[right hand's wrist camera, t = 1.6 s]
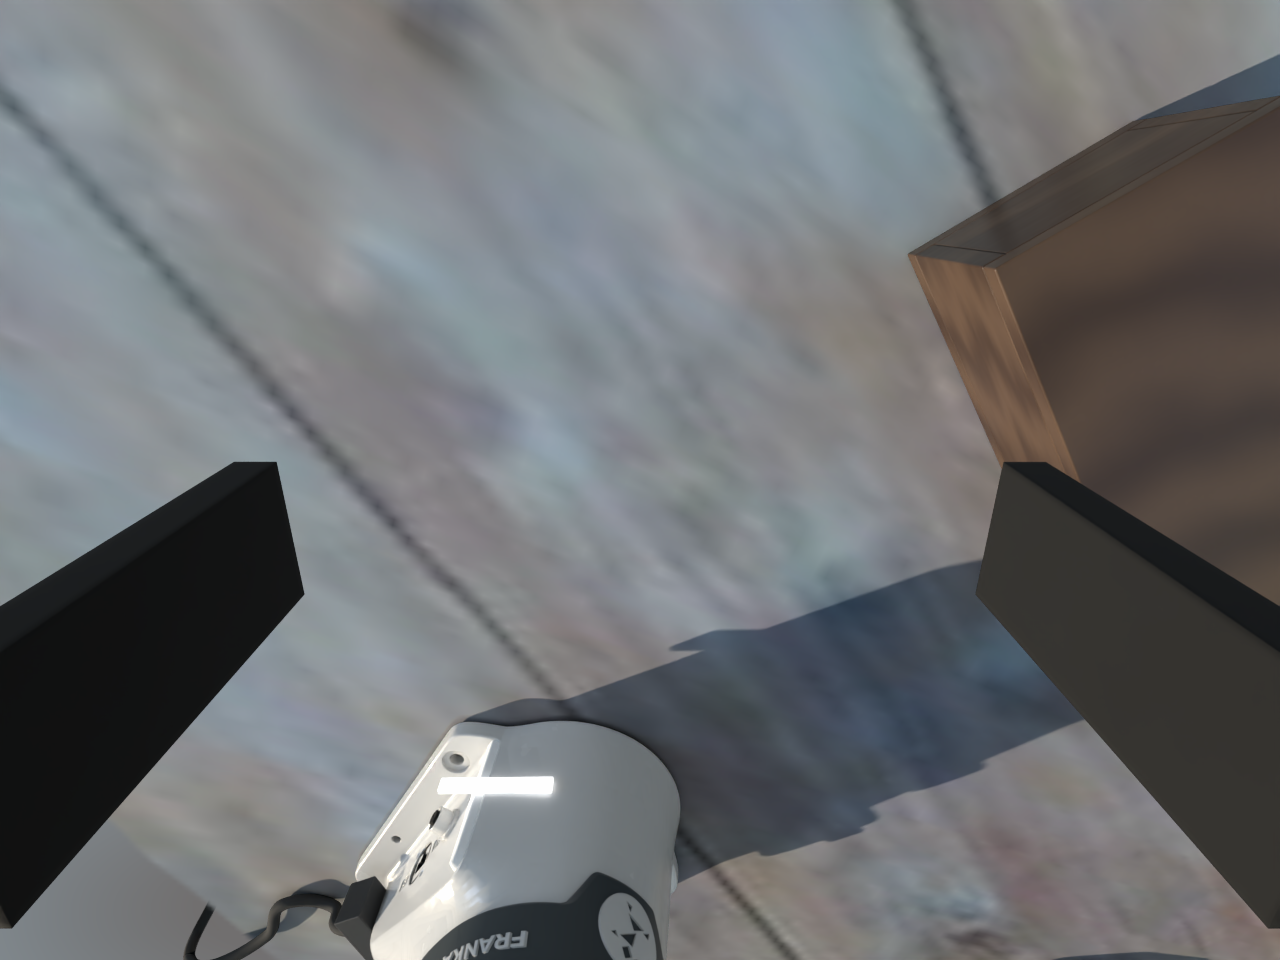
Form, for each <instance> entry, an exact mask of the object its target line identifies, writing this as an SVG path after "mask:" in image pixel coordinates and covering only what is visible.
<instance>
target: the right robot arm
mask: <svg viewBox="0 0 1280 960" xmlns="http://www.w3.org/2000/svg"><path fill="white" fill-rule="evenodd" d="M303 595H304V590H303V585H302V580H301V576H300V571H299V566H298V561H297V557H296V552H295V547H294V542H293V538H292V533H291V528H290V523H289V519H288V514H287V509H286V504H285V500H284V495H283V490H282V485H281V481H280V476H279V471H278V466H277V462H233V463H232V464H230V465H228V466H227V467H225V468H223V469H222V470H220V471H219V472H217V473H215V474H214V475H212V476H210V477H209V478H207V479H206V480H204V481H202V482H201V483H199V484H198V485H196V486H194V487H193V488H191V489H189V490H188V491H186V492H185V493H183V494H181V495H180V496H178V497H176V498H175V499H173V500H172V501H170V502H168V503H167V504H165V505H164V506H162V507H160V508H159V509H157V510H155V511H154V512H152V513H151V514H149V515H147V516H146V517H144V518H142V519H141V520H139V521H138V522H136V523H134V524H133V525H131V526H130V527H128V528H126V529H125V530H123V531H121V532H120V533H118V534H117V535H115V536H113V537H112V538H110V539H108V540H107V541H105V542H104V543H102V544H100V545H99V546H97V547H96V548H94V549H92V550H91V551H89V552H87V553H86V554H84V555H83V556H81V557H79V558H78V559H76V560H74V561H73V562H71V563H70V564H68V565H66V566H65V567H63V568H62V569H60V570H58V571H57V572H55V573H53V574H52V575H50V576H49V577H47V578H45V579H44V580H42V581H40V582H39V583H37V584H36V585H34V586H32V587H31V588H29V589H28V590H26V591H24V592H23V593H21V594H19V595H18V596H16V597H15V598H13V599H11V600H10V601H8V602H6V603H5V604H3V605H2V606H0V928H13V927H14V925H15V924H16V923H17V922H18V921H19V920H20V918H21V917H22V916H23V915H24V914H25V913H26V912H27V911H28V909H29V908H30V907H31V906H32V905H33V904H34V903H35V901H36V900H37V899H38V898H39V897H40V896H41V894H42V893H43V892H44V891H45V890H46V889H47V888H48V887H49V885H50V884H51V883H52V882H53V881H54V880H55V879H56V877H57V876H58V875H59V874H60V873H61V872H62V871H63V869H64V868H65V867H66V866H67V865H68V864H69V863H70V861H71V860H72V859H73V858H74V857H75V856H76V855H77V853H78V852H79V851H80V850H81V849H82V848H83V846H84V845H85V844H86V843H87V842H88V841H89V840H90V839H91V837H92V836H93V835H94V834H95V833H96V832H97V831H98V829H99V828H100V827H101V826H102V825H103V824H104V823H105V821H106V820H107V819H108V818H109V817H110V816H111V815H112V813H113V812H114V811H115V810H116V809H117V808H118V807H119V805H120V804H121V803H122V802H123V801H124V800H125V799H126V797H127V796H128V795H129V794H130V793H131V792H132V791H133V790H134V788H135V787H136V786H137V785H138V784H139V783H140V782H141V780H142V779H143V778H144V777H145V776H146V775H147V774H148V772H149V771H150V770H151V769H152V768H153V767H154V766H155V764H156V763H157V762H158V761H159V760H160V759H161V758H162V756H163V755H164V754H165V753H166V752H167V751H168V750H169V748H170V747H171V746H172V745H173V744H174V743H175V742H176V740H177V739H178V738H179V737H180V736H181V735H182V734H183V732H184V731H185V730H186V729H187V728H188V727H189V726H190V724H191V723H192V722H193V721H194V720H195V719H196V718H197V716H198V715H199V714H200V713H201V712H202V711H203V710H204V708H205V707H206V706H207V705H208V704H209V703H210V702H211V700H212V699H213V698H214V697H215V696H216V695H217V694H218V692H219V691H220V690H221V689H222V688H223V687H224V686H225V684H226V683H227V682H228V681H229V680H230V679H231V678H232V676H233V675H234V674H235V673H236V672H237V671H238V670H239V668H240V667H241V666H242V665H243V664H244V663H245V662H246V660H247V659H248V658H249V657H250V656H251V655H252V654H253V652H254V651H255V650H256V649H257V648H258V647H259V646H260V645H261V643H262V642H263V641H264V640H265V639H266V638H267V637H268V635H269V634H270V633H271V632H272V631H273V630H274V629H275V627H276V626H277V625H278V624H279V623H280V622H281V621H282V619H283V618H284V617H285V616H286V615H287V614H288V613H289V611H290V610H291V609H292V608H293V607H294V606H295V605H296V603H297V602H298V601H299V600H300V599H301V598H302V597H303ZM976 595H977V597H978V598H979V599H980V600H981V601H982V602H983V603H984V605H985V606H986V607H987V608H988V609H989V610H990V611H991V613H992V614H993V615H994V616H995V617H996V618H997V619H998V621H999V622H1000V623H1001V624H1002V625H1003V626H1004V627H1005V629H1006V630H1007V631H1008V632H1009V633H1010V634H1011V635H1012V637H1013V638H1014V639H1015V640H1016V641H1017V642H1018V643H1019V645H1020V646H1021V647H1022V648H1023V649H1024V650H1025V651H1026V652H1027V654H1028V655H1029V656H1030V657H1031V658H1032V659H1033V660H1034V662H1035V663H1036V664H1037V665H1038V666H1039V667H1040V668H1041V670H1042V671H1043V672H1044V673H1045V674H1046V675H1047V676H1048V678H1049V679H1050V680H1051V681H1052V682H1053V683H1054V684H1055V686H1056V687H1057V688H1058V689H1059V690H1060V691H1061V692H1062V694H1063V695H1064V696H1065V697H1066V698H1067V699H1068V700H1069V702H1070V703H1071V704H1072V705H1073V706H1074V707H1075V708H1076V710H1077V711H1078V712H1079V713H1080V714H1081V715H1082V716H1083V718H1084V719H1085V720H1086V721H1087V722H1088V723H1089V724H1090V726H1091V727H1092V728H1093V729H1094V730H1095V731H1096V732H1097V734H1098V735H1099V736H1100V737H1101V738H1102V739H1103V740H1104V742H1105V743H1106V744H1107V745H1108V746H1109V747H1110V748H1111V750H1112V751H1113V752H1114V753H1115V754H1116V755H1117V756H1118V758H1119V759H1120V760H1121V761H1122V762H1123V763H1124V764H1125V766H1126V767H1127V768H1128V769H1129V770H1130V771H1131V772H1132V774H1133V775H1134V776H1135V777H1136V778H1137V779H1138V780H1139V782H1140V783H1141V784H1142V785H1143V786H1144V787H1145V788H1146V790H1147V791H1148V792H1149V793H1150V794H1151V795H1152V796H1153V797H1154V799H1155V800H1156V801H1157V802H1158V803H1159V804H1160V805H1161V807H1162V808H1163V809H1164V810H1165V811H1166V812H1167V813H1168V815H1169V816H1170V817H1171V818H1172V819H1173V820H1174V821H1175V823H1176V824H1177V825H1178V826H1179V827H1180V828H1181V829H1182V831H1183V832H1184V833H1185V834H1186V835H1187V836H1188V837H1189V839H1190V840H1191V841H1192V842H1193V843H1194V844H1195V845H1196V847H1197V848H1198V849H1199V850H1200V851H1201V852H1202V853H1203V855H1204V856H1205V857H1206V858H1207V859H1208V860H1209V861H1210V863H1211V864H1212V865H1213V866H1214V867H1215V868H1216V869H1217V871H1218V872H1219V873H1220V874H1221V875H1222V876H1223V877H1224V879H1225V880H1226V881H1227V882H1228V883H1229V884H1230V885H1231V887H1232V888H1233V889H1234V890H1235V891H1236V892H1237V893H1238V895H1239V896H1240V897H1241V898H1242V899H1243V900H1244V901H1245V903H1246V904H1247V905H1248V906H1249V907H1250V908H1251V909H1252V911H1253V912H1254V913H1255V914H1256V915H1257V916H1258V917H1259V919H1260V920H1261V921H1262V922H1263V923H1264V924H1265V925H1266V927H1267V928H1280V606H1278V605H1277V604H1275V603H1274V602H1272V601H1270V600H1269V599H1267V598H1265V597H1264V596H1262V595H1261V594H1259V593H1257V592H1256V591H1254V590H1252V589H1251V588H1249V587H1248V586H1246V585H1244V584H1243V583H1241V582H1240V581H1238V580H1236V579H1235V578H1233V577H1231V576H1230V575H1228V574H1227V573H1225V572H1223V571H1222V570H1220V569H1218V568H1217V567H1215V566H1214V565H1212V564H1210V563H1209V562H1207V561H1206V560H1204V559H1202V558H1201V557H1199V556H1197V555H1196V554H1194V553H1193V552H1191V551H1189V550H1188V549H1186V548H1184V547H1183V546H1181V545H1180V544H1178V543H1176V542H1175V541H1173V540H1172V539H1170V538H1168V537H1167V536H1165V535H1163V534H1162V533H1160V532H1159V531H1157V530H1155V529H1154V528H1152V527H1150V526H1149V525H1147V524H1146V523H1144V522H1142V521H1141V520H1139V519H1138V518H1136V517H1134V516H1133V515H1131V514H1129V513H1128V512H1126V511H1125V510H1123V509H1121V508H1120V507H1118V506H1116V505H1115V504H1113V503H1112V502H1110V501H1108V500H1107V499H1105V498H1104V497H1102V496H1100V495H1099V494H1097V493H1095V492H1094V491H1092V490H1091V489H1089V488H1087V487H1086V486H1084V485H1082V484H1081V483H1079V482H1078V481H1076V480H1074V479H1073V478H1071V477H1070V476H1068V475H1066V474H1065V473H1063V472H1061V471H1060V470H1058V469H1057V468H1055V467H1053V466H1052V465H1050V464H1048V463H1047V462H1003V466H1002V471H1001V476H1000V481H999V485H998V490H997V495H996V500H995V504H994V509H993V514H992V519H991V523H990V528H989V533H988V538H987V542H986V547H985V552H984V557H983V561H982V566H981V571H980V576H979V580H978V585H977V590H976Z"/></svg>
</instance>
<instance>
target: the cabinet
mask: <svg viewBox="0 0 1280 960" xmlns="http://www.w3.org/2000/svg"><path fill="white" fill-rule="evenodd" d="M908 257H909V259H910V261H911V264H912V266H913V268H914V270H915V273H916V275H917V277H918V279H919V282H920V284H921V286H922V289H923V291H924V293H925V295H926V298H927V300H928V302H929V304H930V307H931V309H932V311H933V314H934V316H935V318H936V320H937V323H938V325H939V327H940V329H941V332H942V334H943V336H944V339H945V341H946V343H947V345H948V348H949V350H950V352H951V354H952V357H953V359H954V361H955V364H956V366H957V368H958V370H959V373H960V375H961V377H962V379H963V382H964V384H965V386H966V389H967V391H968V393H969V395H970V398H971V400H972V402H973V404H974V407H975V409H976V411H977V414H978V416H979V418H980V420H981V423H982V425H983V427H984V429H985V432H986V434H987V436H988V439H989V441H990V443H991V445H992V448H993V450H994V452H995V454H996V457H997V459H998V461H999V464H1000V466H1001V468H1002V466H1003V462H1047V463H1048V464H1050V465H1052V466H1053V467H1055V468H1057V469H1058V470H1060V471H1061V472H1063V473H1065V474H1066V475H1068V476H1070V477H1071V478H1073V479H1074V480H1076V481H1078V482H1079V483H1081V484H1082V485H1084V486H1086V487H1087V488H1089V489H1091V490H1092V491H1094V492H1095V493H1097V494H1099V495H1100V496H1102V497H1104V498H1105V499H1107V500H1108V501H1110V502H1112V503H1113V504H1115V505H1116V506H1118V507H1120V508H1121V509H1123V510H1125V511H1126V512H1128V513H1129V514H1131V515H1133V516H1134V517H1136V518H1138V519H1139V520H1141V521H1142V522H1144V523H1146V524H1147V525H1149V526H1150V527H1152V528H1154V529H1155V530H1157V531H1159V532H1160V533H1162V534H1163V535H1165V536H1167V537H1168V538H1170V539H1172V540H1173V541H1175V542H1176V543H1178V544H1180V545H1181V546H1183V547H1184V548H1186V549H1188V550H1189V551H1191V552H1193V553H1194V554H1196V555H1197V556H1199V557H1201V558H1202V559H1204V560H1206V561H1207V562H1209V563H1210V564H1212V565H1214V566H1215V567H1217V568H1218V569H1220V570H1222V571H1223V572H1225V573H1227V574H1228V575H1230V576H1231V577H1233V578H1235V579H1236V580H1238V581H1240V582H1241V583H1243V584H1244V585H1246V586H1248V587H1249V588H1251V589H1252V590H1254V591H1256V592H1257V593H1259V594H1261V595H1262V596H1264V597H1265V598H1267V599H1269V600H1270V601H1272V602H1274V603H1275V604H1277V605H1278V606H1280V96H1275V97H1270V98H1264V99H1258V100H1253V101H1247V102H1241V103H1235V104H1230V105H1224V106H1218V107H1213V108H1207V109H1201V110H1195V111H1190V112H1184V113H1178V114H1173V115H1167V116H1161V117H1155V118H1150V119H1143V120H1137V121H1133V122H1131V123H1129V124H1128V125H1126V126H1124V127H1122V128H1121V129H1119V130H1117V131H1116V132H1114V133H1112V134H1111V135H1109V136H1107V137H1106V138H1104V139H1102V140H1100V141H1099V142H1097V143H1095V144H1094V145H1092V146H1090V147H1089V148H1087V149H1085V150H1083V151H1082V152H1080V153H1078V154H1077V155H1075V156H1073V157H1072V158H1070V159H1068V160H1066V161H1065V162H1063V163H1061V164H1060V165H1058V166H1056V167H1055V168H1053V169H1051V170H1049V171H1048V172H1046V173H1044V174H1043V175H1041V176H1039V177H1038V178H1036V179H1034V180H1033V181H1031V182H1029V183H1027V184H1026V185H1024V186H1022V187H1021V188H1019V189H1017V190H1016V191H1014V192H1012V193H1010V194H1009V195H1007V196H1005V197H1004V198H1002V199H1000V200H999V201H997V202H995V203H993V204H992V205H990V206H988V207H987V208H985V209H983V210H982V211H980V212H978V213H977V214H975V215H973V216H971V217H970V218H968V219H966V220H965V221H963V222H961V223H960V224H958V225H956V226H954V227H953V228H951V229H949V230H948V231H946V232H944V233H943V234H941V235H939V236H937V237H936V238H934V239H932V240H931V241H929V242H927V243H926V244H924V245H922V246H920V247H919V248H917V249H915V250H914V251H912V252H910V253H909V254H908Z"/></svg>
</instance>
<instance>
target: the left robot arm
mask: <svg viewBox="0 0 1280 960" xmlns="http://www.w3.org/2000/svg"><path fill="white" fill-rule="evenodd" d="M455 754H459V755H461V756H458V755H455ZM680 809H681V806H680V797H679V793H678V789H677V786H676V784H675V782H674V779H673V778H672V776H671V774H670V772H669V771H668V769H667V768H666V767H665V765H664V764H663V763H662V762H661V761H660V759H659V758H658V757H657V756H656V755H655V754H653V753H652V752H651V751H650V750H649V749H648V748H646V747H645V746H643V745H642V744H641V743H639V742H637V741H636V740H634V739H632V738H630V737H629V736H627V735H624V734H622V733H620V732H618V731H615V730H612V729H609V728H606V727H603V726H599V725H595V724H590V723H584V722H576V721H547V722H539V723H533V724H527V725H521V726H509V727H505V726H500V725H494V724H487V723H480V722H462V723H458V724H456V725H454V726H453V727H452V728H451V729H450V730H449V732H448V733H447V734H446V736H445V737H444V739H443V740H442V742H441V743H440V744H439V746H438V747H437V749H436V750H435V752H434V753H433V754H432V756H431V757H430V759H429V760H428V762H427V763H426V764H425V766H424V767H423V769H422V770H421V772H420V773H419V774H418V776H417V777H416V779H415V780H414V782H413V783H412V785H411V786H410V787H409V789H408V790H407V792H406V793H405V795H404V796H403V797H402V799H401V800H400V802H399V803H398V805H397V806H396V807H395V809H394V810H393V812H392V813H391V815H390V816H389V817H388V819H387V820H386V822H385V823H384V825H383V826H382V827H381V829H380V830H379V832H378V833H377V835H376V836H375V837H374V839H373V840H372V842H371V843H370V845H369V846H368V848H367V849H366V850H365V852H364V853H363V855H362V856H361V858H360V860H359V863H358V866H357V869H356V873H355V876H356V879H357V881H358V882H355V883H352V884H351V886H350V888H349V891H348V893H347V895H346V898H345V900H344V902H343V905H341V903H340V902H338V901H337V900H335V899H332V898H330V897H327V896H322V895H316V894H300V895H293V896H289V897H286V898H283V899H281V900H279V901H277V902H276V903H275V904H274V905H273V907H272V908H271V910H270V912H269V916H268V925H267V929H266V930H265V931H264V932H262V933H261V934H260V935H258V936H257V937H256V938H254V939H253V940H251V941H250V942H248V943H247V944H245V945H243V946H241V947H240V948H238V949H236V950H234V951H232V952H230V953H228V954H226V955H224V956H221V957H219V958H216V959H213V960H241V959H242V958H244V957H246V956H248V955H249V954H251V953H252V952H254V951H256V950H257V949H259V948H260V947H261V946H263V945H264V944H266V943H267V942H268V941H270V940H271V939H272V938H273V937H274V935H275V934H276V932H277V931H278V928H279V923H280V915H281V912H282V911H284V910H286V909H289V908H293V907H303V906H307V907H317V908H321V909H324V910H327V911H329V912H330V913H331V916H330V920H329V927H330V930H331V931H332V932H333V933H334V934H337V935H339V936H344V937H346V938H347V939H348V941H349V942H350V943H351V944H352V945H353V946H354V947H355V949H356V950H357V951H358V952H359V953H360V954H361V955H362V956H363V958H364V959H365V960H666V958H667V944H668V929H669V914H670V897H671V894H672V893H673V892H674V891H675V890H676V888H677V884H678V864H677V859H676V856H675V852H674V846H675V840H676V835H677V830H678V825H679V820H680ZM214 910H215V909H214V908H213V907H212V906H211V905H209V904H208V903H207V905H206V907H205V908H204V910H203V912H202V914H201V916H200V918H199V920H198V921H197V923H196V925H195V927H194V929H193V931H192V933H191V935H190V937H189V939H188V941H187V944H186V946H185V950H184V956H183V960H198V959H197V958H196V956H195V951H196V947H197V945H198V942H199V940H200V937H201V935H202V933H203V931H204V929H205V927H206V925H207V923H208V922H209V920H210V918H211V916H212V914H213V912H214Z"/></svg>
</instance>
